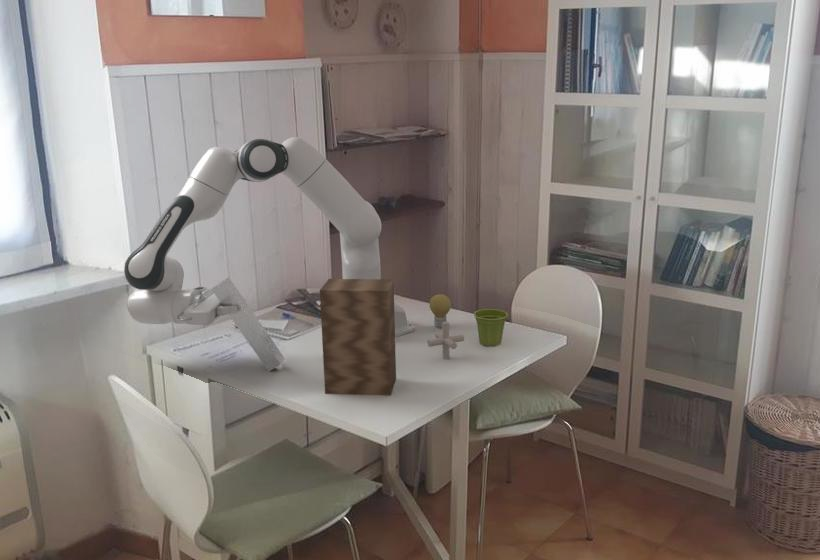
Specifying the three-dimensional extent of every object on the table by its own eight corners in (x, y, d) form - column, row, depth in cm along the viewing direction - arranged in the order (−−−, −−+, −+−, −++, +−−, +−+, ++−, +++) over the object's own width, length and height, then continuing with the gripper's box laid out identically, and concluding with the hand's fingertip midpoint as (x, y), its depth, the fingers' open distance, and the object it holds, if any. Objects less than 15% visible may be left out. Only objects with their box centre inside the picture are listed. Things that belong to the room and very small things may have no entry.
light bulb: (435, 331, 230) (435, 299, 227) (426, 325, 235) (425, 293, 233) (454, 328, 232) (454, 296, 229) (445, 322, 238) (444, 290, 235)
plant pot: (488, 335, 226) (488, 306, 223) (514, 342, 219) (514, 313, 217) (466, 343, 219) (466, 314, 217) (492, 351, 213) (493, 321, 210)
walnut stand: (325, 393, 187) (319, 290, 180) (333, 377, 197) (328, 278, 190) (390, 395, 186) (387, 291, 179) (396, 379, 195) (393, 279, 188)
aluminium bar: (211, 288, 198) (223, 281, 196) (216, 284, 201) (228, 277, 200) (268, 371, 202) (280, 364, 200) (273, 366, 205) (285, 359, 204)
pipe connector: (437, 367, 202) (436, 331, 200) (421, 355, 211) (420, 320, 208) (471, 361, 206) (471, 325, 203) (454, 349, 215) (454, 314, 212)
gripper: (171, 307, 191) (225, 306, 189) (203, 284, 210) (252, 283, 209) (175, 331, 193) (228, 331, 191) (206, 306, 212) (254, 305, 210)
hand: (241, 306), depth 200 cm, fingers closed on aluminium bar, 4 cm apart
